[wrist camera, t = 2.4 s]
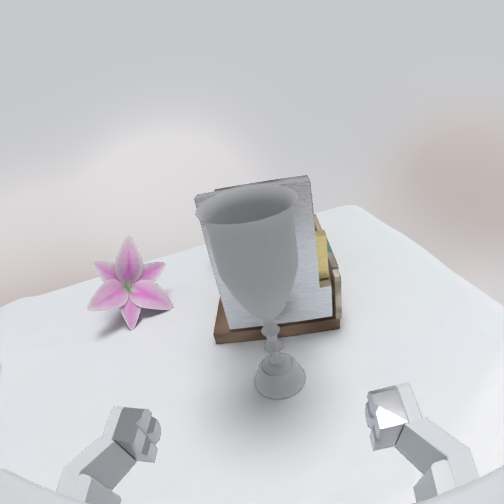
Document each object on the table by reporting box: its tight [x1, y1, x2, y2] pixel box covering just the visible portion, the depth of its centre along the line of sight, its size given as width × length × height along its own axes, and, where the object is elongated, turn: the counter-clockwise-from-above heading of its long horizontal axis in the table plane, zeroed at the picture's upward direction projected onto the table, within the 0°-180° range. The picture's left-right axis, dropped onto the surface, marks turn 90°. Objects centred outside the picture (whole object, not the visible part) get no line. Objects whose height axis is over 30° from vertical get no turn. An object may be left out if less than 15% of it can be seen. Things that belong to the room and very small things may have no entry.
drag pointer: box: [315, 230, 329, 281], centre depth 32 cm, size 1×1×9 cm
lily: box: [88, 236, 173, 330], centre depth 42 cm, size 12×12×10 cm
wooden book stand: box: [214, 175, 341, 344], centre depth 40 cm, size 14×20×12 cm
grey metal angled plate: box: [194, 177, 332, 329], centre depth 34 cm, size 11×9×15 cm
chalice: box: [195, 185, 306, 399], centre depth 25 cm, size 7×7×18 cm
